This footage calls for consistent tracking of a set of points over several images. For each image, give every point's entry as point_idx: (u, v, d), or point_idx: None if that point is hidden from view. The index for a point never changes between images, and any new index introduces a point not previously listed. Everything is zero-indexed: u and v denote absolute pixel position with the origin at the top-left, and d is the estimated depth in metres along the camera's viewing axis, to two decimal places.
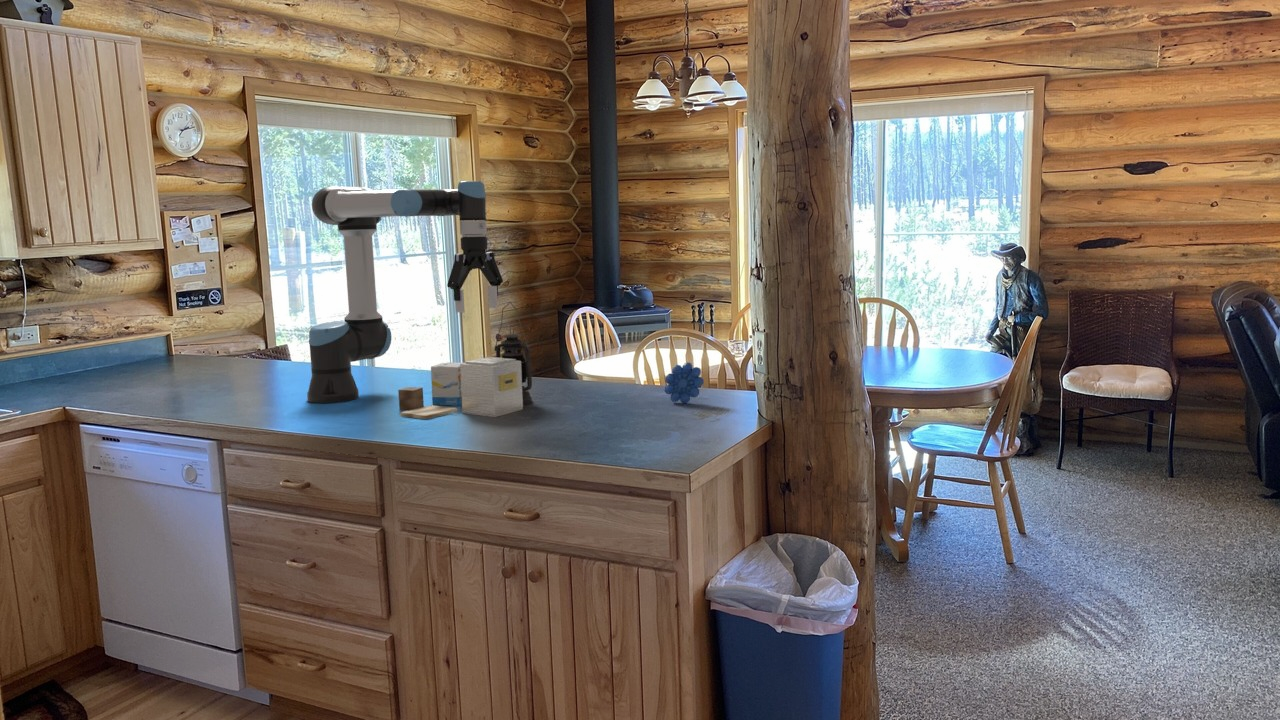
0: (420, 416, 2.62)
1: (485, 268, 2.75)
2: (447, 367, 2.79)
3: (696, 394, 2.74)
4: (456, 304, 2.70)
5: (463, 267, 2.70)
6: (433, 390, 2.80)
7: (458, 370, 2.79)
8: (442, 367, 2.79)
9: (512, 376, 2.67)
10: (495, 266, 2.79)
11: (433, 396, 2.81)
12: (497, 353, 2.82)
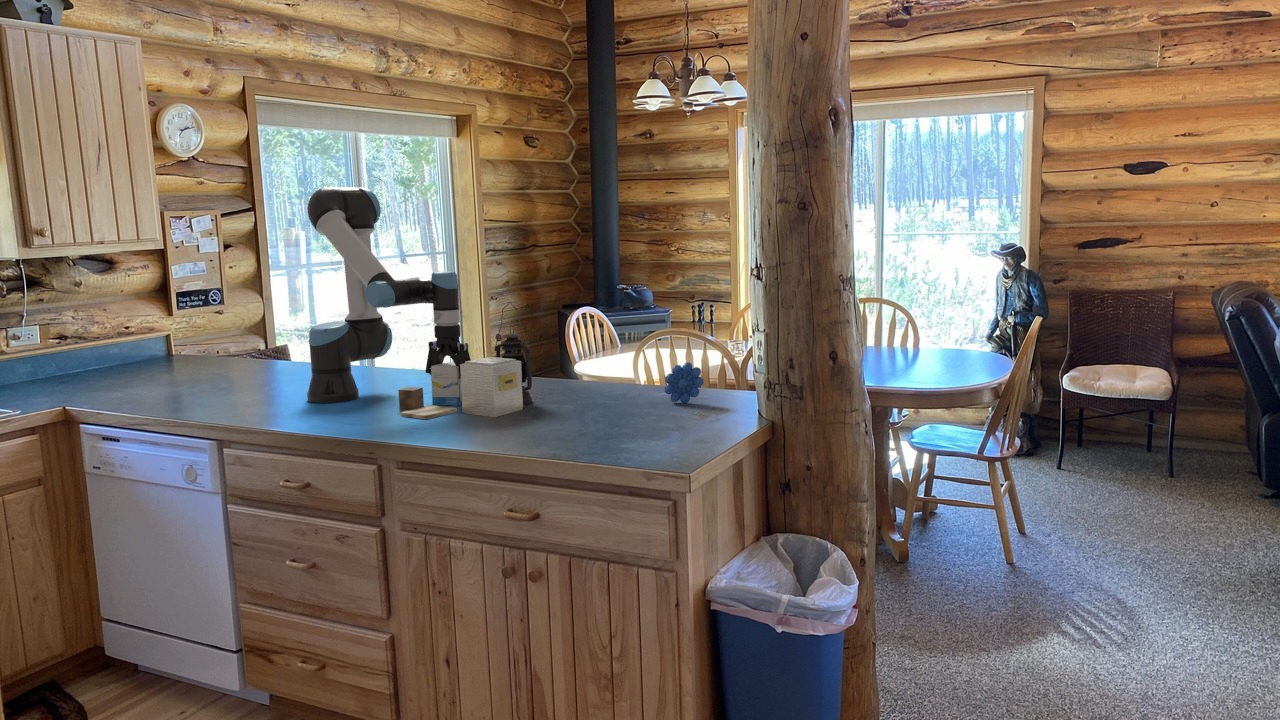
0: (420, 416, 2.62)
1: None
2: (447, 367, 2.79)
3: (696, 394, 2.74)
4: None
5: None
6: (433, 390, 2.80)
7: (458, 370, 2.79)
8: (442, 367, 2.79)
9: (512, 376, 2.67)
10: (462, 358, 2.78)
11: (433, 396, 2.81)
12: (497, 353, 2.82)
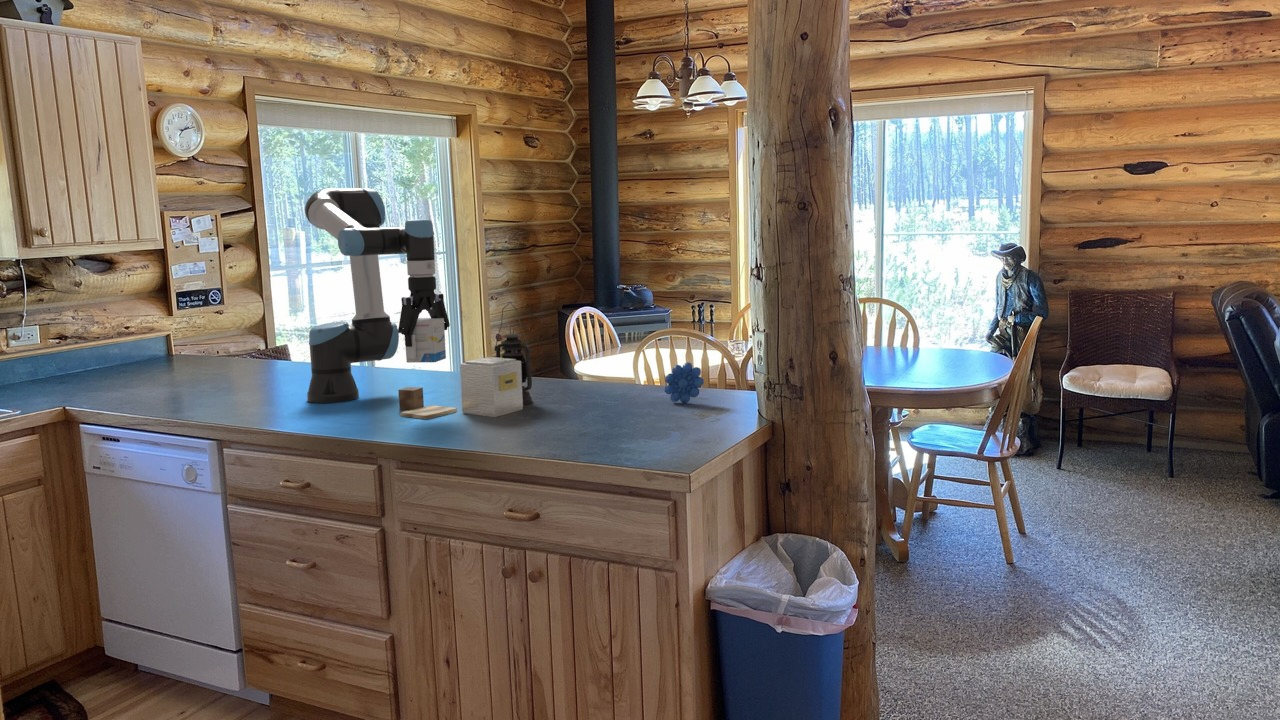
0: (420, 416, 2.62)
1: (433, 310, 2.66)
2: (439, 319, 2.65)
3: (696, 394, 2.74)
4: (407, 350, 2.62)
5: (412, 310, 2.62)
6: (434, 346, 2.62)
7: None
8: (437, 320, 2.64)
9: (512, 376, 2.67)
10: (443, 309, 2.69)
11: (434, 352, 2.62)
12: (497, 353, 2.82)
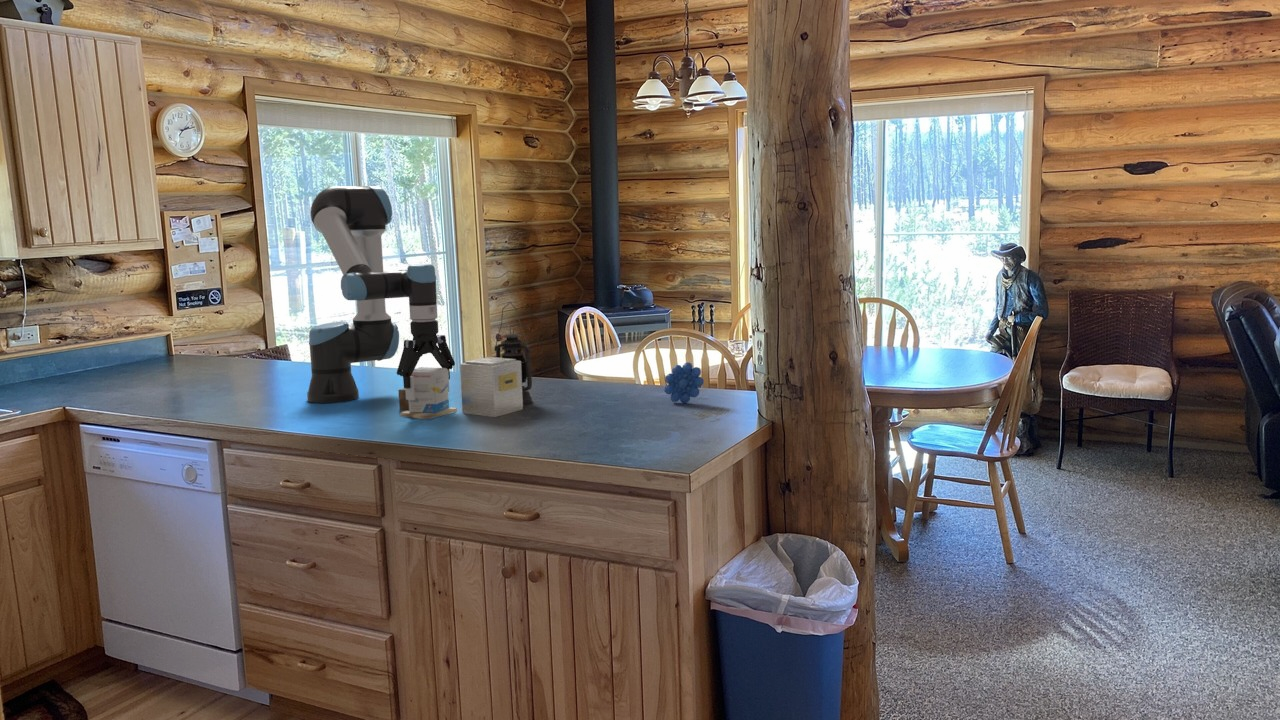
0: (420, 416, 2.62)
1: (436, 352, 2.68)
2: (441, 369, 2.67)
3: (696, 394, 2.74)
4: (406, 391, 2.62)
5: (413, 353, 2.63)
6: (436, 397, 2.64)
7: None
8: (439, 370, 2.66)
9: (512, 376, 2.67)
10: (447, 349, 2.71)
11: (436, 403, 2.64)
12: (497, 353, 2.82)
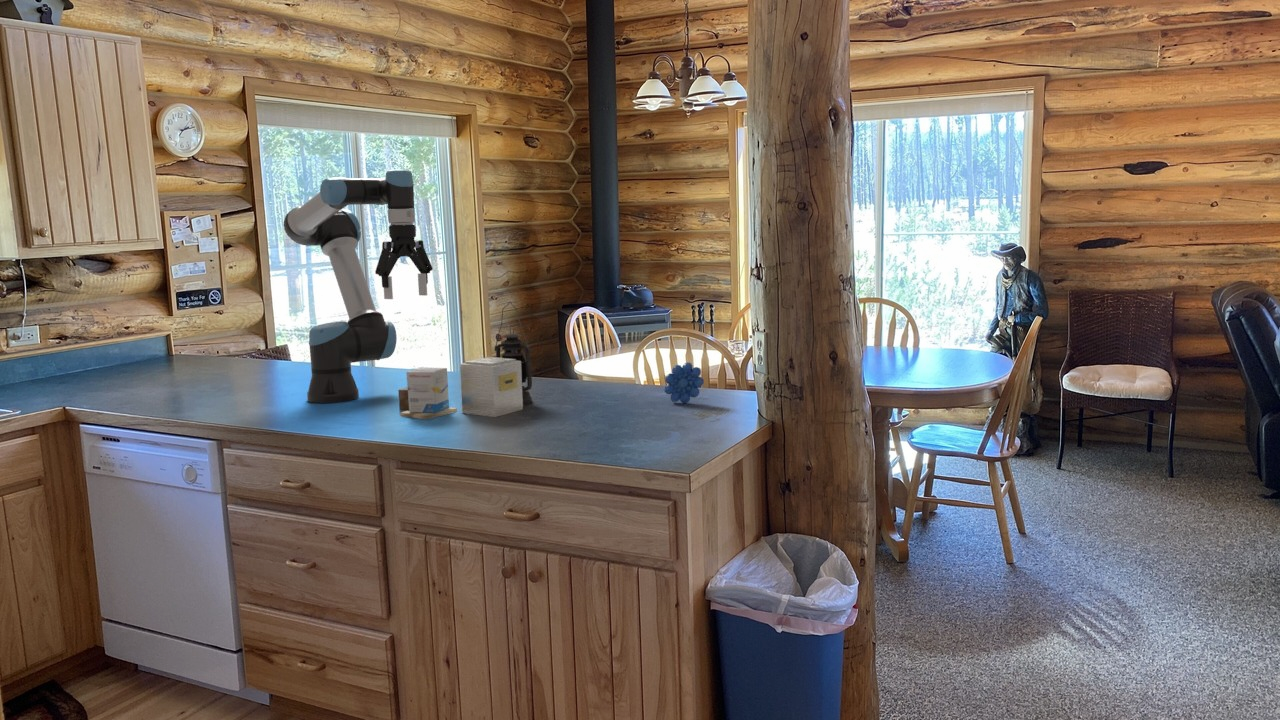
0: (420, 416, 2.62)
1: (414, 256, 2.80)
2: (441, 370, 2.67)
3: (696, 394, 2.74)
4: (384, 291, 2.74)
5: (391, 254, 2.75)
6: (436, 397, 2.64)
7: None
8: (439, 370, 2.66)
9: (512, 376, 2.67)
10: (424, 254, 2.84)
11: (436, 403, 2.64)
12: (497, 353, 2.82)
